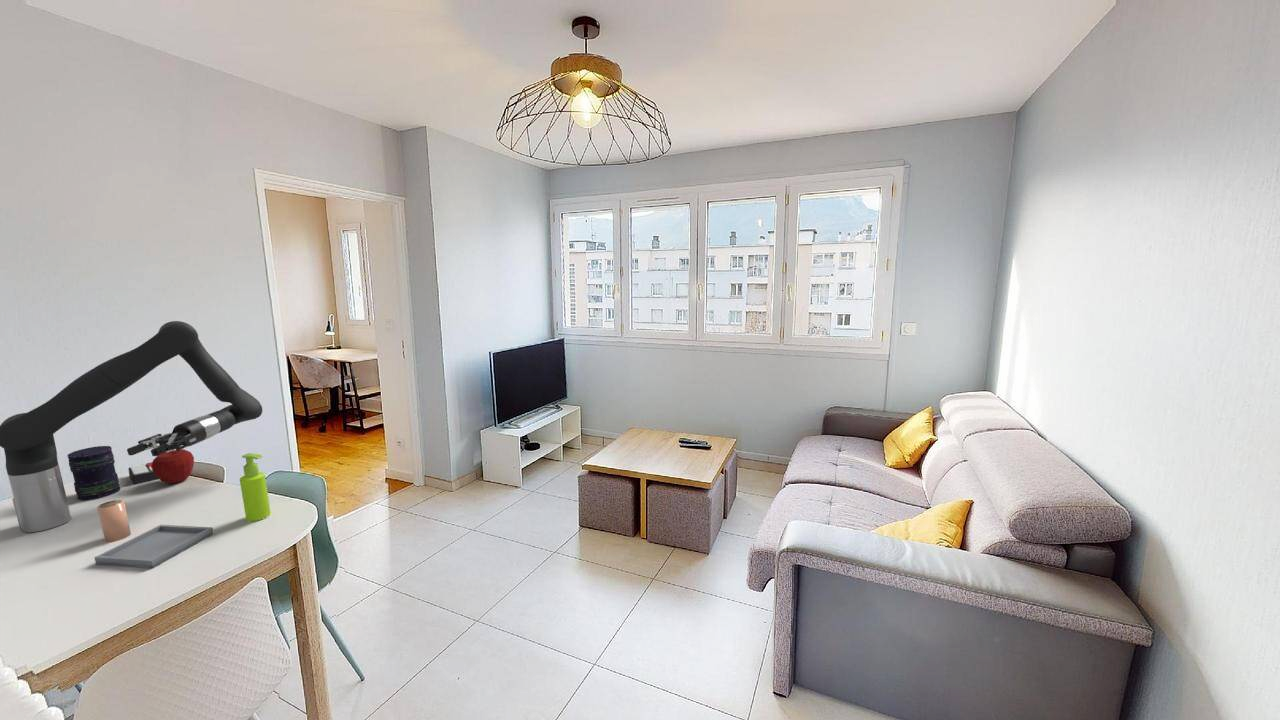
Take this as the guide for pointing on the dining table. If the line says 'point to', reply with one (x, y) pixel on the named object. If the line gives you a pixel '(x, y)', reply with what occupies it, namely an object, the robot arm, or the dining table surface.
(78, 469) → the storage jar
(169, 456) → the apple
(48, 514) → the robot arm
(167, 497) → the dining table surface
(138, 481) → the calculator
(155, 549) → the tray
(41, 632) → the dining table surface
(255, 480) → the soap dispenser
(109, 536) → the cup
